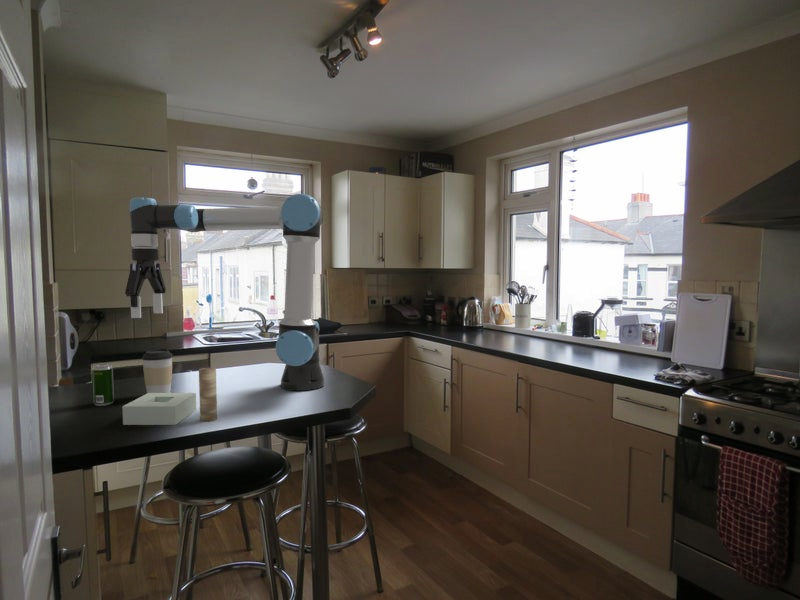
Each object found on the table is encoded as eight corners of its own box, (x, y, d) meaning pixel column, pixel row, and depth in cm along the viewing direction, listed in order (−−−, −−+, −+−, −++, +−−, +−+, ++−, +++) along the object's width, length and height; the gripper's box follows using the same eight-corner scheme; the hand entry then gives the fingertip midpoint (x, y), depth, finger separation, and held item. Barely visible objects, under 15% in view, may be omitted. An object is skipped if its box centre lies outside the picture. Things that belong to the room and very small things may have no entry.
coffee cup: (161, 400, 160) (160, 353, 158) (136, 398, 161) (135, 352, 160) (179, 392, 168) (178, 348, 167) (155, 391, 170) (154, 347, 169)
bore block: (196, 409, 149) (195, 392, 149) (175, 424, 135) (174, 406, 135) (148, 409, 149) (148, 392, 149) (123, 424, 135) (122, 406, 135)
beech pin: (219, 416, 143) (218, 367, 142) (213, 421, 138) (212, 370, 137) (203, 416, 143) (202, 367, 141) (197, 421, 138) (196, 371, 137)
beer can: (111, 405, 153) (109, 366, 153) (91, 406, 152) (89, 367, 151) (116, 400, 159) (114, 363, 158) (97, 402, 157) (95, 363, 156)
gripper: (152, 249, 171) (155, 311, 173) (109, 247, 146) (113, 319, 148) (175, 249, 171) (177, 311, 173) (135, 246, 146) (138, 319, 148)
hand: (147, 315), depth 160 cm, fingers open, 13 cm apart
